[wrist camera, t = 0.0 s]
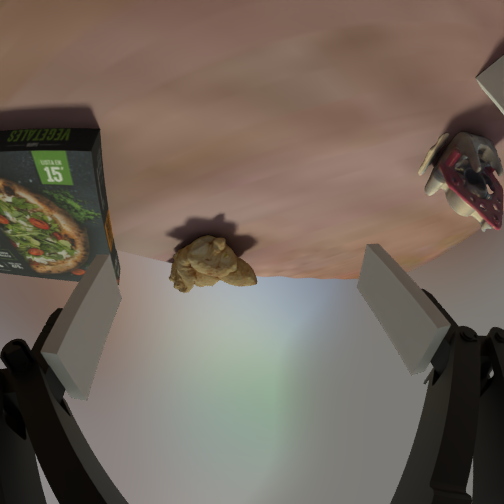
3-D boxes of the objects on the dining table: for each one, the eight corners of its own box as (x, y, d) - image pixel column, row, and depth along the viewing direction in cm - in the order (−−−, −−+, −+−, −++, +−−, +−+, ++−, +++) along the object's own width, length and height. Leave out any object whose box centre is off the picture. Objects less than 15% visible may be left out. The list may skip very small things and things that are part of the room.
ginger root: (258, 227, 38) (261, 287, 37) (254, 251, 54) (256, 293, 52) (145, 232, 38) (144, 290, 36) (172, 253, 53) (172, 295, 52)
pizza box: (-18, 254, 40) (-22, 269, 38) (-97, 145, 10) (-108, 166, 9) (120, 267, 51) (118, 285, 50) (101, 125, 22) (91, 151, 20)
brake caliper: (518, 138, 20) (520, 237, 22) (465, 144, 30) (467, 224, 33) (463, 120, 19) (467, 242, 22) (408, 134, 30) (411, 226, 33)
